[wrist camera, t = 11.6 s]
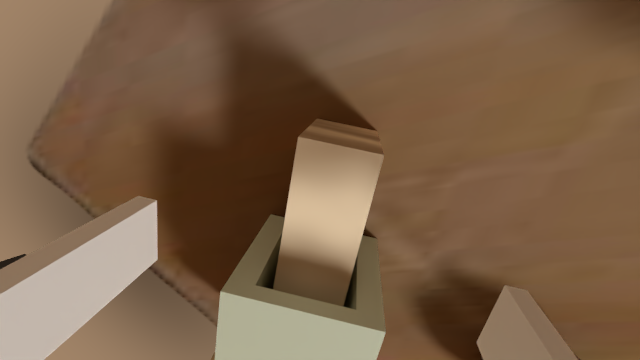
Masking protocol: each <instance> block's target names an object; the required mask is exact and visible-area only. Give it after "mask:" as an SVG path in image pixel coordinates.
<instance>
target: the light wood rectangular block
mask: <svg viewBox="0 0 640 360" xmlns="http://www.w3.org/2000/svg"><path fill="white" fill-rule="evenodd" d="M383 157H384V153H383V149H382V146H381V142H380V139H379V135H378V132H377V131H375V130H370V129H365V128H361V127H356V126H351V125H346V124H342V123H337V122H332V121H327V120H322V119H318V118H317V119H316V120H315V121H314V122H313V123H312V124H311V125H310V126H309V127H308V128H307V129H305V130H304V131H303V132H302V133H301V134H300V135H299V136H298V141H297V147H296V153H295V159H294V165H293V171H292V177H291V183H290V189H289V196H288V202H287V208H286V214H285V220H284V226H283V232H282V238H281V245H280V251H279V257H278V263H277V269H276V275H275V281H274V287H273V290H277V291H281V292H285V293H289V294H293V295H297V296H302V297H306V298H310V299H314V300H318V301H322V302H326V303H330V304H334V305H338V306H342V307H343V305H344V302H345V298H346V294H347V291H348V287H349V283H350V279H351V276H352V272H353V268H354V265H355V261H356V257H357V254H358V250H359V246H360V242H361V239H362V235H363V231H364V228H365V224H366V220H367V216H368V213H369V209H370V205H371V202H372V198H373V194H374V191H375V187H376V183H377V179H378V176H379V172H380V168H381V165H382V161H383Z"/></svg>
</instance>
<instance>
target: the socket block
mask: <svg viewBox="0 0 640 360" xmlns="http://www.w3.org/2000/svg"><path fill="white" fill-rule="evenodd" d="M284 220H285V217H281V216H276V215H272V214H271V215H270V216H269V218H268V219H267V221H266V222H265V224H264V225H263V227H262V228H261V230H260V232H259V233H258V235H257V236H256V238H255V239H254V241H253V242H252V244H251V245H250V247H249V248H248V250H247V251H246V253H245V255H244V256H243V258H242V259H241V261H240V262H239V264H238V265H237V267H236V268H235V270H234V271H233V273H232V274H231V276H230V278H229V279H228V281H227V282H226V284H225V285H224V287H223V288H222V290H221V291H220V303H219V314H218V326H217V338H216V349H215V360H376V359H377V356H378V353H379V350H380V348H381V345H382V342H383V339H384V336H385V333H386V330H385V319H384V309H383V298H382V287H381V277H380V266H379V255H378V245H377V238H372V237H368V236H363V235H362V239H361V242H360V246H359V250H358V254H357V257H356V261H355V265H354V268H353V272H352V276H351V279H350V283H349V287H348V291H347V294H346V298H345V302H344V305H343V307H342V306H338V305H334V304H330V303H326V302H322V301H318V300H314V299H310V298H306V297H302V296H297V295H293V294H289V293H285V292H281V291H277V290H273V287H274V281H275V275H276V269H277V263H278V257H279V251H280V245H281V238H282V232H283V226H284Z"/></svg>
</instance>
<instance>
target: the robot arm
mask: <svg viewBox="0 0 640 360" xmlns="http://www.w3.org/2000/svg"><path fill="white" fill-rule="evenodd" d="M156 260H157V200H154V199H149V198H145V197H141V196H137V197H135V198H133V199H132V200H130V201H128V202H126V203H124V204H122V205H120V206H118V207H117V208H115V209H113V210H111V211H109V212H107V213H105V214H103V215H102V216H100V217H98V218H96V219H94V220H92V221H90V222H88V223H86V224H85V225H83V226H81V227H79V228H77V229H75V230H73V231H72V232H70V233H68V234H66V235H64V236H62V237H60V238H58V239H56V240H54V241H53V242H51V243H49V244H47V245H45V246H43V247H41V248H39V249H38V250H36V251H34V252H32V253H30V254H28V255H26V254H23V255H20V256H17V257H14V258H11V259H7V260H5V261H1V262H0V360H44V359H45V358H46V357H48V356H49V355H50V354H51V353H52V352H53V351H54V350H56V349H57V348H58V347H59V346H60V345H61V344H62V343H63V342H64V341H66V340H67V339H68V338H69V337H70V336H71V335H73V333H75V332H76V331H77V330H78V329H79V328H80V327H82V326H83V325H84V324H85V323H86V322H87V321H88V320H89V319H91V318H92V317H93V316H94V315H95V314H96V313H97V312H99V310H101V309H102V308H103V307H104V306H105V305H106V304H108V303H109V302H110V301H111V300H112V299H113V298H114V297H116V296H117V295H118V294H119V293H120V292H121V291H122V290H124V289H125V288H126V287H127V286H128V285H129V284H130V283H131V282H132V281H134V280H135V279H136V278H137V277H138V276H139V275H140V274H141V273H143V272H144V271H145V270H146V269H147V268H148V267H150V266H151V265H152V264H153V263H154V262H155V261H156ZM476 343H477V345H478V348H479V350H480V353H481V355H482V358H483V360H578V359H577V358H576V356H575V355H574V353H573V352H572V351H571V349H570V348H569V347H568V345H567V344H566V343H565V341H564V340H563V338H562V337H561V336H560V334H559V333H558V332H557V330H556V329H555V328H554V326H553V325H552V323H551V322H550V321H549V319H548V318H547V317H546V315H545V314H544V313H543V311H542V310H541V309H540V307H539V306H538V304H537V303H536V302H535V300H534V299H533V298H532V296H531V295H530V294H529V292H528V291H527V290H523V289H519V288H515V287H511V286H507V285H505V286H504V288H503V290H502V292H501V294H500V296H499V298H498V300H497V302H496V304H495V306H494V308H493V310H492V312H491V314H490V316H489V318H488V320H487V322H486V324H485V326H484V328H483V330H482V332H481V334H480V336H479V338H478V340H477V342H476Z"/></svg>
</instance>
